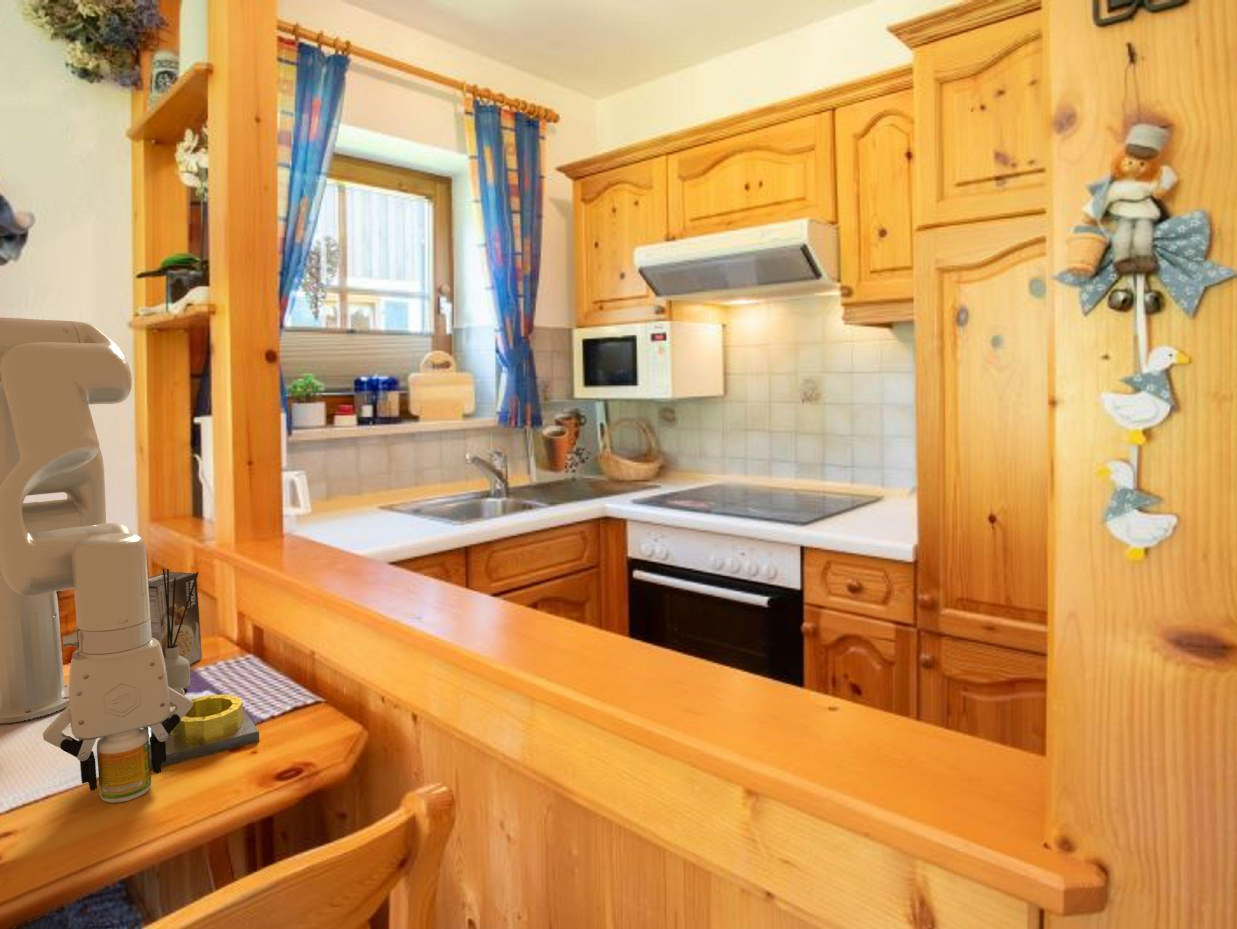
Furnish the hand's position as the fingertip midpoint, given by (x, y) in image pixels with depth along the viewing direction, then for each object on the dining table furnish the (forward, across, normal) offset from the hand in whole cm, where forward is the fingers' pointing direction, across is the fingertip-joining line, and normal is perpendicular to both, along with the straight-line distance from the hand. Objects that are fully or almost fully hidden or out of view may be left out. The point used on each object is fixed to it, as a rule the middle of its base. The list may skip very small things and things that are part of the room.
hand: (125, 776), depth 97 cm
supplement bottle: (+2, 0, 0) cm, 2 cm away
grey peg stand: (+2, +8, +10) cm, 13 cm away
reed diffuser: (+2, +11, +31) cm, 33 cm away
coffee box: (+2, +11, +44) cm, 45 cm away
